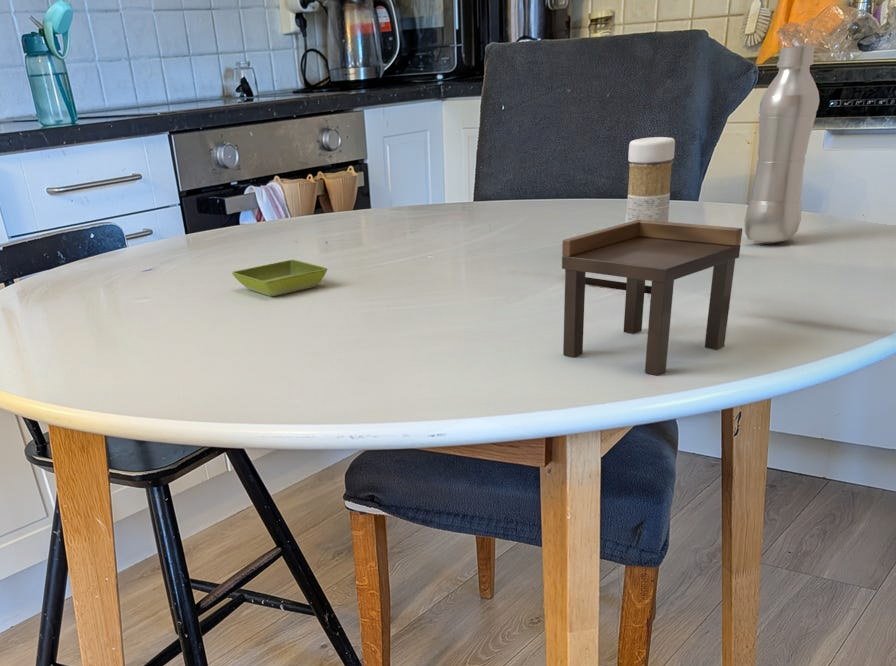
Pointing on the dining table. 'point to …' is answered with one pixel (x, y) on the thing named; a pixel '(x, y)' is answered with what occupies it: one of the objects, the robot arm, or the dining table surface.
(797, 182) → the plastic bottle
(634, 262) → the small brown wooden table
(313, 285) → the green square tray
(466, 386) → the dining table surface
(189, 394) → the dining table surface
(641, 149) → the sprinkles bottle
